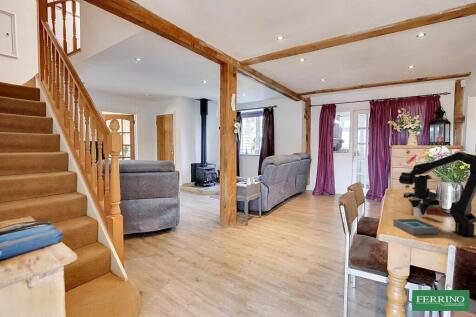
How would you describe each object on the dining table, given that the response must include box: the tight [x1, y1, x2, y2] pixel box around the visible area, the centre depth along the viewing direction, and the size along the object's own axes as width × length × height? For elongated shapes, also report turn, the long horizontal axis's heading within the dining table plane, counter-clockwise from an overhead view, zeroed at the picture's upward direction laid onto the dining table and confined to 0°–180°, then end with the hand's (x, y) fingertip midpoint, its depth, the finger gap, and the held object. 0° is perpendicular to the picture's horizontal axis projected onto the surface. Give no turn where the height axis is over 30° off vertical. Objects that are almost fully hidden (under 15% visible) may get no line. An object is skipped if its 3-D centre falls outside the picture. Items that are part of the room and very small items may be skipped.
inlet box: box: [393, 217, 439, 236], centre depth 125 cm, size 14×13×4 cm
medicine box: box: [426, 198, 443, 215], centre depth 158 cm, size 15×8×8 cm, turn 59°
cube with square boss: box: [413, 206, 427, 218], centre depth 135 cm, size 4×4×6 cm
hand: (419, 213), depth 135 cm, fingers closed on cube with square boss, 4 cm apart
